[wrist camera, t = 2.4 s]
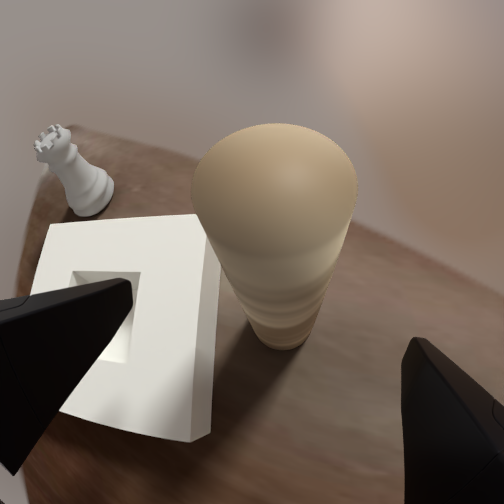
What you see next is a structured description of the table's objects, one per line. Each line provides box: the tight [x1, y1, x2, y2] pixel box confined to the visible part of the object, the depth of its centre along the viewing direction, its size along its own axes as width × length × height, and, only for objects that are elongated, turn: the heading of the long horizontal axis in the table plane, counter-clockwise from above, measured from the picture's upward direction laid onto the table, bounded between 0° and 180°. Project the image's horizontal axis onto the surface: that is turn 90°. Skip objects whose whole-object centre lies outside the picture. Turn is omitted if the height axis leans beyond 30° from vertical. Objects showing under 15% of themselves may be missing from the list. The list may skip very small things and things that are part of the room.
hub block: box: [30, 214, 221, 442], centre depth 17 cm, size 12×12×4 cm
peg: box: [191, 123, 358, 350], centre depth 12 cm, size 4×4×13 cm
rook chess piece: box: [34, 124, 114, 216], centre depth 21 cm, size 4×4×8 cm
